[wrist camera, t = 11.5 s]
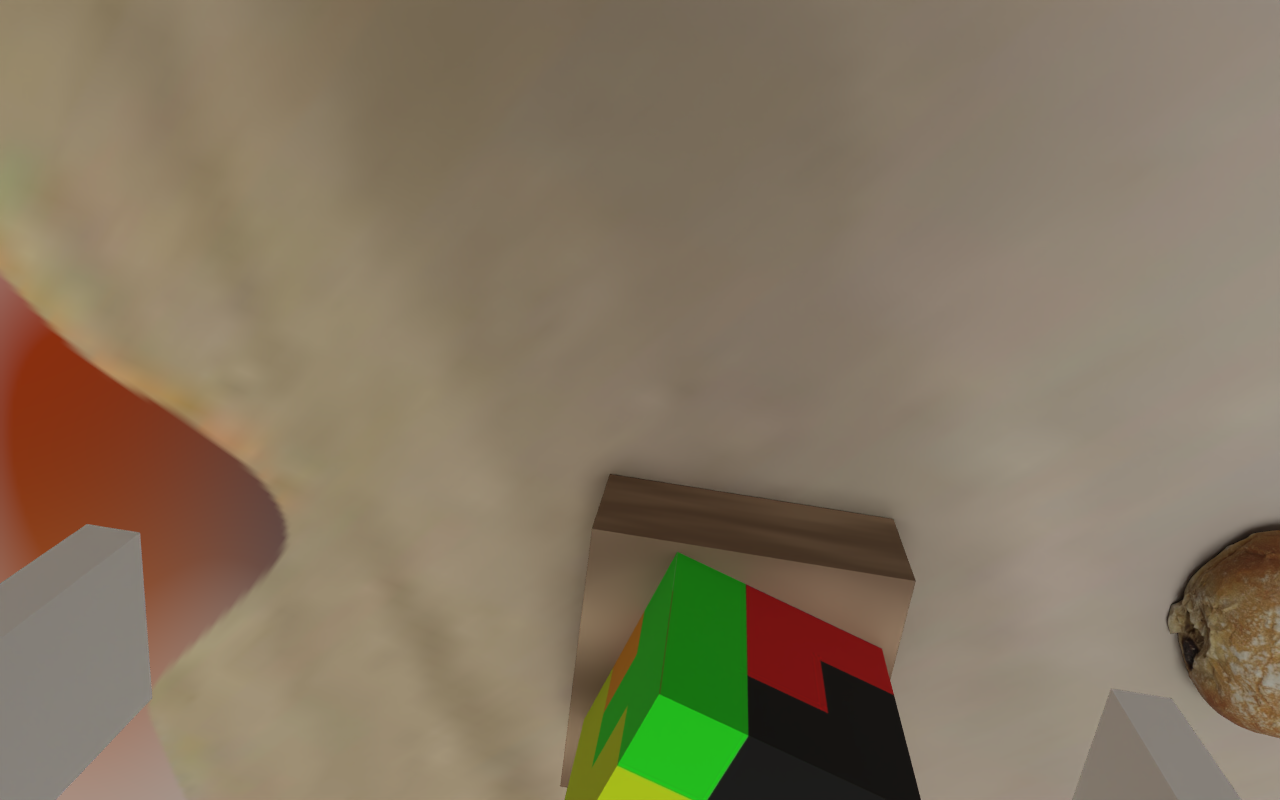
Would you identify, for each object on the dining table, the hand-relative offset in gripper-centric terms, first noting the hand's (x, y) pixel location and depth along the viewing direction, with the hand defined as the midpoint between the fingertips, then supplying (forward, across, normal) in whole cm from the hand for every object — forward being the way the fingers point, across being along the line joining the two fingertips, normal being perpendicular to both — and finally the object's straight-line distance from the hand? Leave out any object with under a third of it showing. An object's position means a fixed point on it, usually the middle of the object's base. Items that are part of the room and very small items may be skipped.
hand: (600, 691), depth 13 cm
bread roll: (+32, +30, -13) cm, 46 cm away
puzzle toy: (+25, +4, -18) cm, 31 cm away
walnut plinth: (+31, +4, -18) cm, 36 cm away
